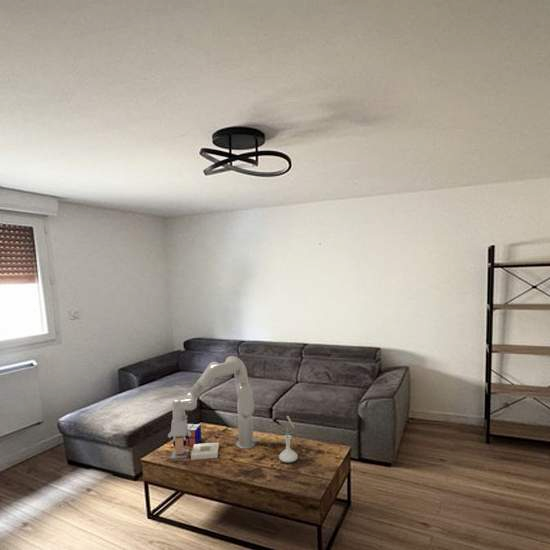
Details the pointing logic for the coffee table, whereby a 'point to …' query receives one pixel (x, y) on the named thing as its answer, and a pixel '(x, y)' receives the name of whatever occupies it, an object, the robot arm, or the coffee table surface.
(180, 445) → the terracotta block
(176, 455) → the slate mat
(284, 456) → the flower in vase
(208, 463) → the coffee table surface
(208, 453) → the cream pocket board
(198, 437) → the puzzle cube
